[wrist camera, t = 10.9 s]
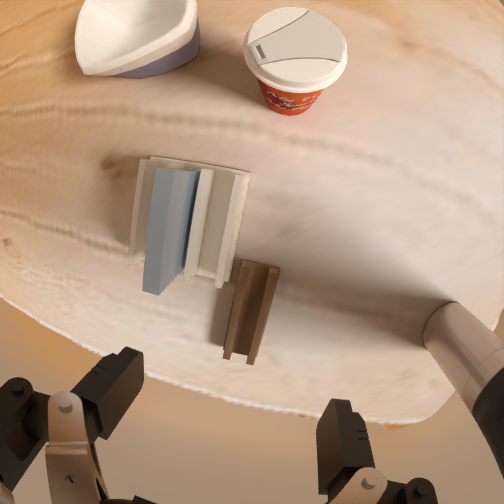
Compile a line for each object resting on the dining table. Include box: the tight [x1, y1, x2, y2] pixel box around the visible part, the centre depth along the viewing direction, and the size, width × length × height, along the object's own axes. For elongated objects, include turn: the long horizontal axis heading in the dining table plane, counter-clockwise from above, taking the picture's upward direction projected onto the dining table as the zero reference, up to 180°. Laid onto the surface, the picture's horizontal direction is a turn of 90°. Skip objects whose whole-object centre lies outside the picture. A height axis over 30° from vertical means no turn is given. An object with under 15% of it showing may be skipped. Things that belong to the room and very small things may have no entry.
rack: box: [128, 156, 252, 289], centre depth 33 cm, size 13×14×5 cm
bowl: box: [75, 0, 200, 79], centre depth 24 cm, size 15×15×11 cm
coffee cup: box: [243, 7, 347, 116], centre depth 23 cm, size 8×8×15 cm
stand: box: [223, 260, 280, 365], centre depth 37 cm, size 5×14×3 cm, turn 168°
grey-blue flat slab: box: [142, 168, 201, 295], centre depth 30 cm, size 2×12×10 cm, turn 168°
